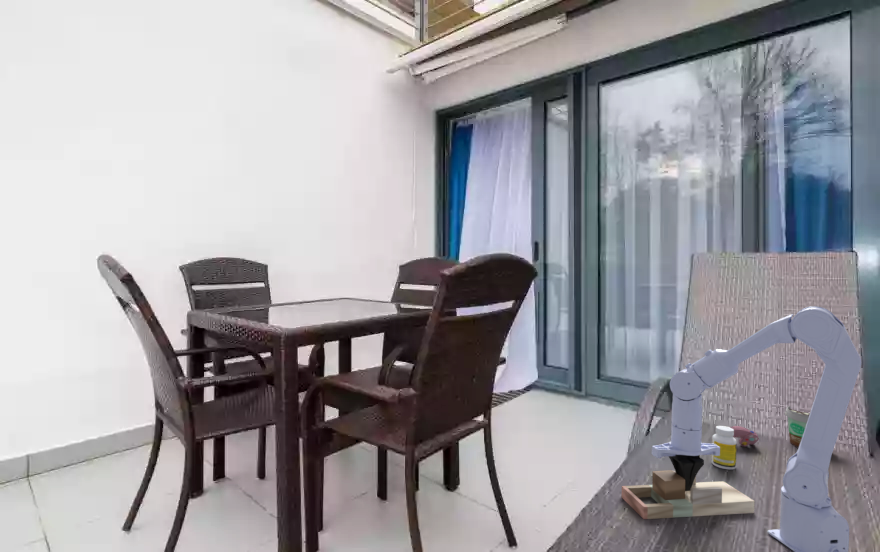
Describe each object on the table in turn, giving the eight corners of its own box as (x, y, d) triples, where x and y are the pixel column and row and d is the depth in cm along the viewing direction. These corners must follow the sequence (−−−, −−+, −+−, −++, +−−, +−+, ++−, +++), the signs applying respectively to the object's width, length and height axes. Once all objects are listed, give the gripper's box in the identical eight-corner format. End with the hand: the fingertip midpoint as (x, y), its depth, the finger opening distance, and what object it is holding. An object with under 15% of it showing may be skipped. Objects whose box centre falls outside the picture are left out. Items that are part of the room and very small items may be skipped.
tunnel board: (754, 512, 93) (754, 486, 93) (643, 519, 90) (644, 492, 90) (723, 492, 102) (724, 468, 102) (621, 497, 99) (622, 472, 99)
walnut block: (685, 498, 94) (685, 479, 94) (665, 500, 93) (665, 481, 93) (671, 487, 98) (671, 470, 98) (652, 489, 98) (652, 471, 97)
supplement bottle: (739, 471, 113) (741, 432, 112) (716, 469, 114) (717, 431, 113) (730, 462, 118) (731, 425, 118) (707, 460, 119) (709, 423, 119)
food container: (774, 441, 133) (775, 407, 133) (786, 437, 136) (787, 405, 135) (824, 457, 122) (825, 421, 122) (836, 453, 124) (837, 418, 124)
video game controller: (718, 448, 131) (722, 431, 127) (714, 436, 134) (718, 419, 131) (757, 453, 128) (762, 435, 125) (752, 440, 132) (757, 423, 128)
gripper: (704, 418, 101) (702, 478, 101) (644, 420, 99) (642, 481, 99) (728, 430, 94) (726, 494, 94) (663, 432, 92) (662, 497, 92)
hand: (684, 488), depth 96 cm, fingers closed
